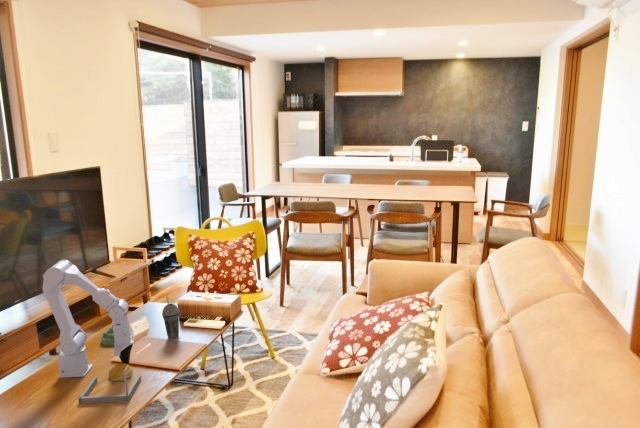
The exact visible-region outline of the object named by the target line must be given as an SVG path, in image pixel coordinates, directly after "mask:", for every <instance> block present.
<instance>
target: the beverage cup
mask: <svg viewBox="0 0 640 428" xmlns="http://www.w3.org/2000/svg"><path fill="white" fill-rule="evenodd" d="M165 296H166V297H165V299H166V302H167V304H166V305H164V307H163V309H162V313H161V315H162V317H163V321H164V326H165V331H166V336H167V338H168V340H171V341H173V340H177V339H179V337H180V336H179V334H180V333H179V332H180V326H179V324H180V323H179V320H180V310H179V307H178V306H177V305H176V304H174V303H170V302H169V298H168V295H165Z"/></svg>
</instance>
